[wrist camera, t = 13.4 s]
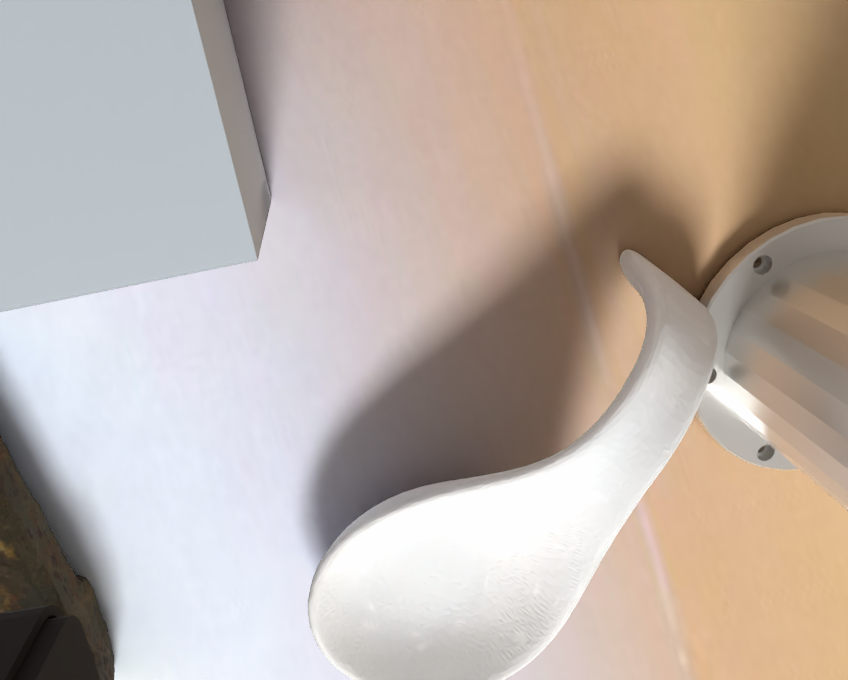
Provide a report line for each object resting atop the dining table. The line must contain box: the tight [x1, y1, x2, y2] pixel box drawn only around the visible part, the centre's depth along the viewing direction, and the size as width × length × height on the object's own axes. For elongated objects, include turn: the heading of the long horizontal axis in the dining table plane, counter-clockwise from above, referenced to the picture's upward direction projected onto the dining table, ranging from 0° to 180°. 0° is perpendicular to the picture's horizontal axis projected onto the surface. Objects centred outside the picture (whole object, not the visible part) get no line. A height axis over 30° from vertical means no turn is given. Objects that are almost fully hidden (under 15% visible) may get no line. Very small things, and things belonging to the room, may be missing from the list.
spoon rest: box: [308, 249, 717, 680], centre depth 35 cm, size 24×12×7 cm, turn 144°
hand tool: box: [0, 436, 115, 680], centre depth 34 cm, size 19×4×5 cm, turn 15°
